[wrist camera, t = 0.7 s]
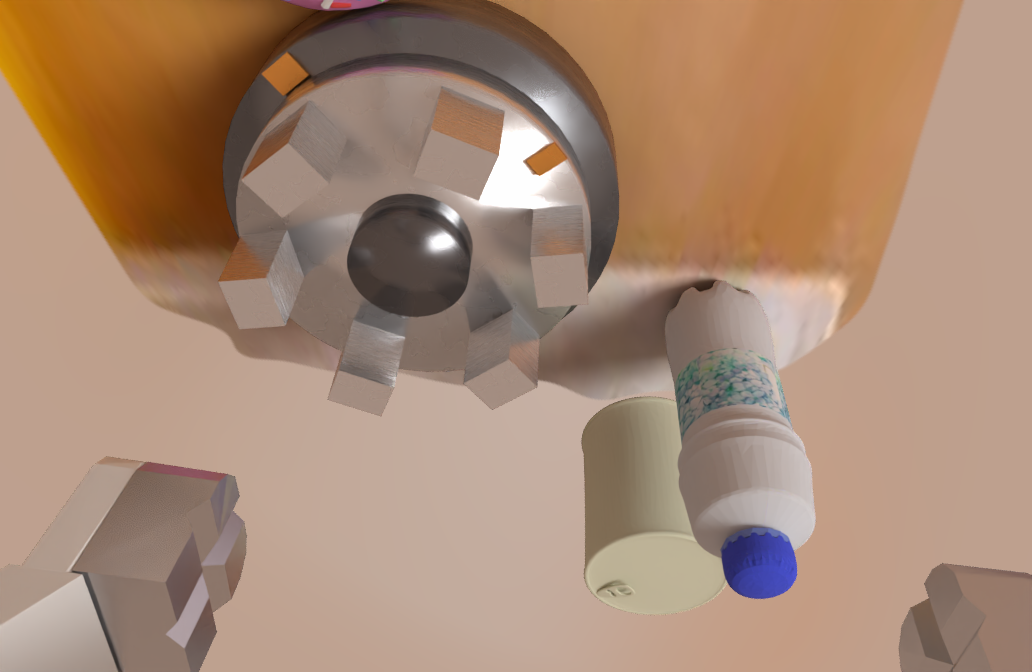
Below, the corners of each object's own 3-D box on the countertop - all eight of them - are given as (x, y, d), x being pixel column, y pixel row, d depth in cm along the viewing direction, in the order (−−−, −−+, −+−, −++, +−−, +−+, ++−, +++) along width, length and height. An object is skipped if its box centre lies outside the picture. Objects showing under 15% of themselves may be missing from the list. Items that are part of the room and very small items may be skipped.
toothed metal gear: (179, 183, 45) (131, 257, 40) (440, -30, 37) (420, 29, 32) (409, 384, 54) (393, 464, 49) (659, 246, 46) (669, 325, 41)
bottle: (699, 365, 58) (744, 641, 43) (637, 307, 55) (661, 583, 40) (787, 314, 54) (869, 594, 39) (726, 249, 51) (789, 526, 36)
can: (557, 425, 62) (554, 568, 53) (671, 377, 59) (689, 522, 50) (621, 494, 67) (628, 635, 58) (730, 454, 63) (756, 598, 54)
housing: (167, 138, 48) (139, 176, 45) (451, -108, 39) (440, -81, 36) (417, 362, 59) (408, 405, 56) (686, 210, 50) (694, 251, 47)
